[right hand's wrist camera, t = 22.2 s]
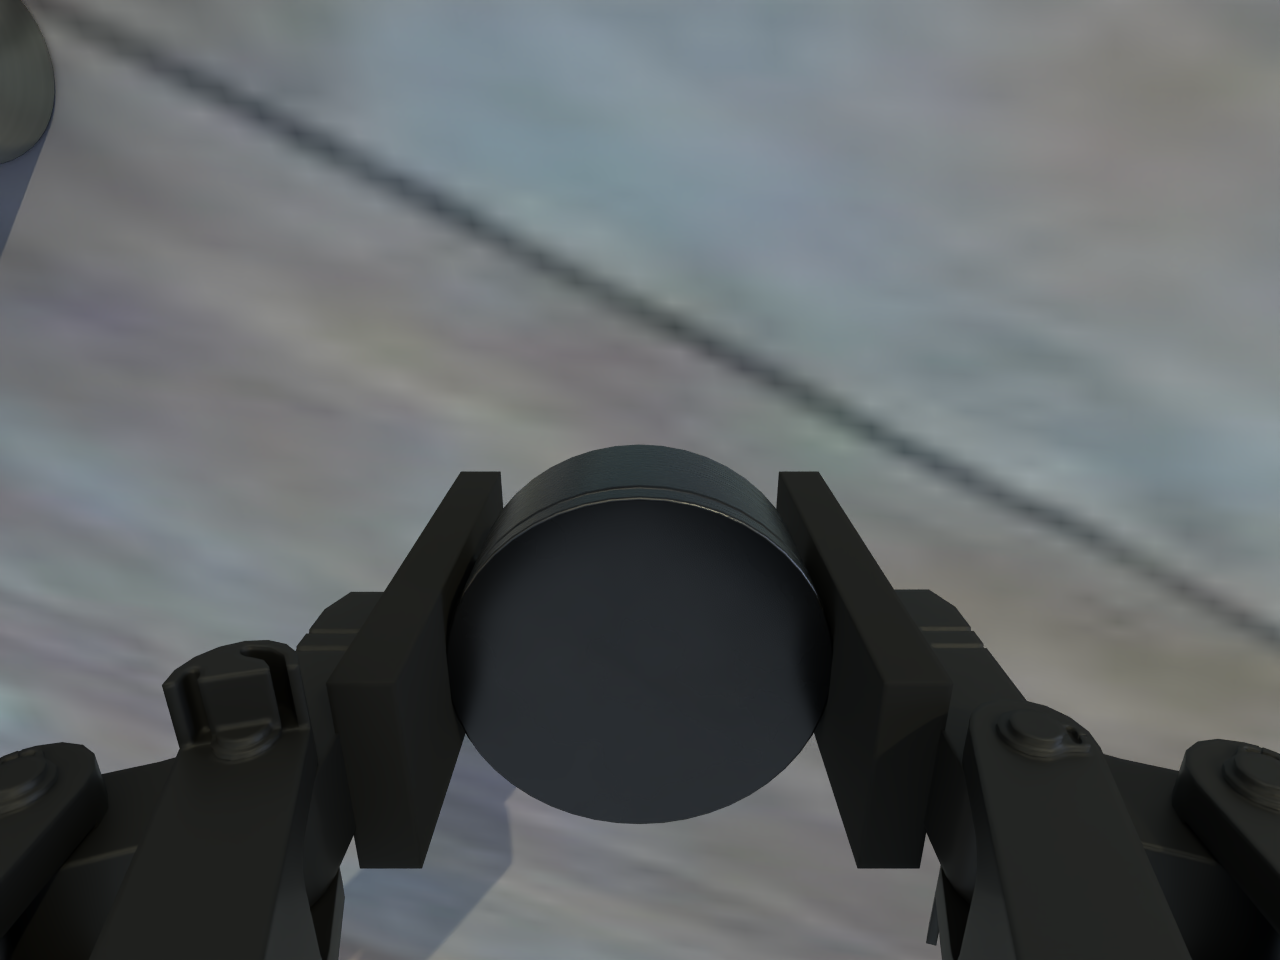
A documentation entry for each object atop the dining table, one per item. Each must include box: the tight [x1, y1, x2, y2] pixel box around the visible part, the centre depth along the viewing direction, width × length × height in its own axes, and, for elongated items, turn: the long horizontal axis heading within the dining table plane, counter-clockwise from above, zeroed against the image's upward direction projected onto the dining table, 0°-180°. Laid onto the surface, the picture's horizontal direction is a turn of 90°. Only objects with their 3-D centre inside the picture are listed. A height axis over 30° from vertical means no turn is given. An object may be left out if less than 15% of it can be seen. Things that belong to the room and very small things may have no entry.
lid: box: [446, 445, 833, 824], centre depth 11 cm, size 5×5×2 cm
